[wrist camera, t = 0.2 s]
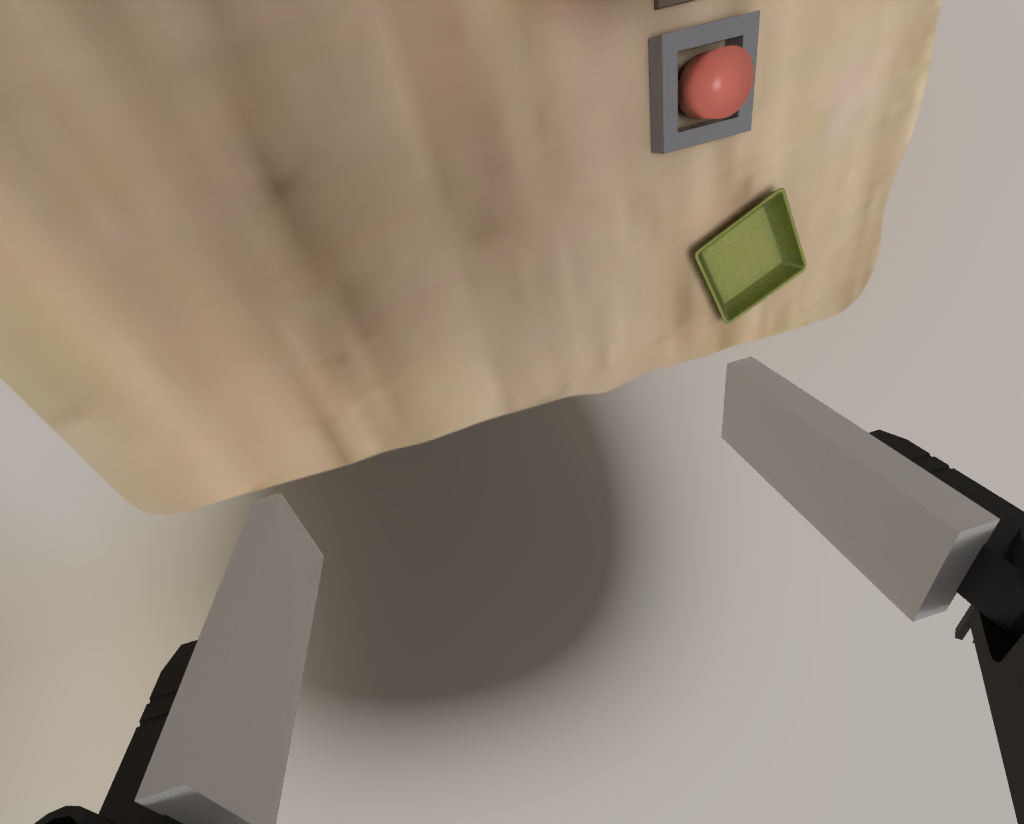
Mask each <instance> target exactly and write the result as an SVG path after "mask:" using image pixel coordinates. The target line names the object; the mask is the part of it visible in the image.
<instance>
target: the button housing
mask: <svg viewBox="0 0 1024 824" xmlns="http://www.w3.org/2000/svg"><path fill="white" fill-rule="evenodd" d="M759 18H760V10H759V11H755V12H751V13H747V14H743V15H739V16H735V17H731V18H727V19H723V20H719V21H715V22H711V23H707V24H702V25H698V26H694V27H690V28H686V29H682V30H678V31H674V32H670V33H666V34H662V35H659V36H657V37H654V38H651V39H648V43H649V77H650V112H651V146H652V152H655V153H667V152H671V151H675V150H679V149H682V148H686V147H690V146H694V145H697V144H701V143H705V142H709V141H713V140H716V139H720V138H724V137H728V136H731V135H735V134H739V133H743V132H747V131H750V130H751V122H752V109H753V96H754V83H755V70H756V57H757V44H758V31H759ZM722 40H726V46H731V45H735V46H739V47H742V48H743V49H745V50H746V51H747V52H748V54H749V55H750V57H751V59H752V62H753V67H754V78H753V84H752V88H751V91H750V93H749V96H748V97H747V99H746V101H745V102H744V104H743V105H742V106H741V108H740V109H739V110H738V111H736V112H735V113H734V114H732V115H731V116H729V117H726V118H722V119H715V120H711V121H707V122H703V123H699V124H696V125H692V126H688V127H684V128H680V129H678V52H679V51H683V50H687V49H691V48H695V47H699V46H702V45H706V44H710V43H714V42H718V41H722Z"/></svg>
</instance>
